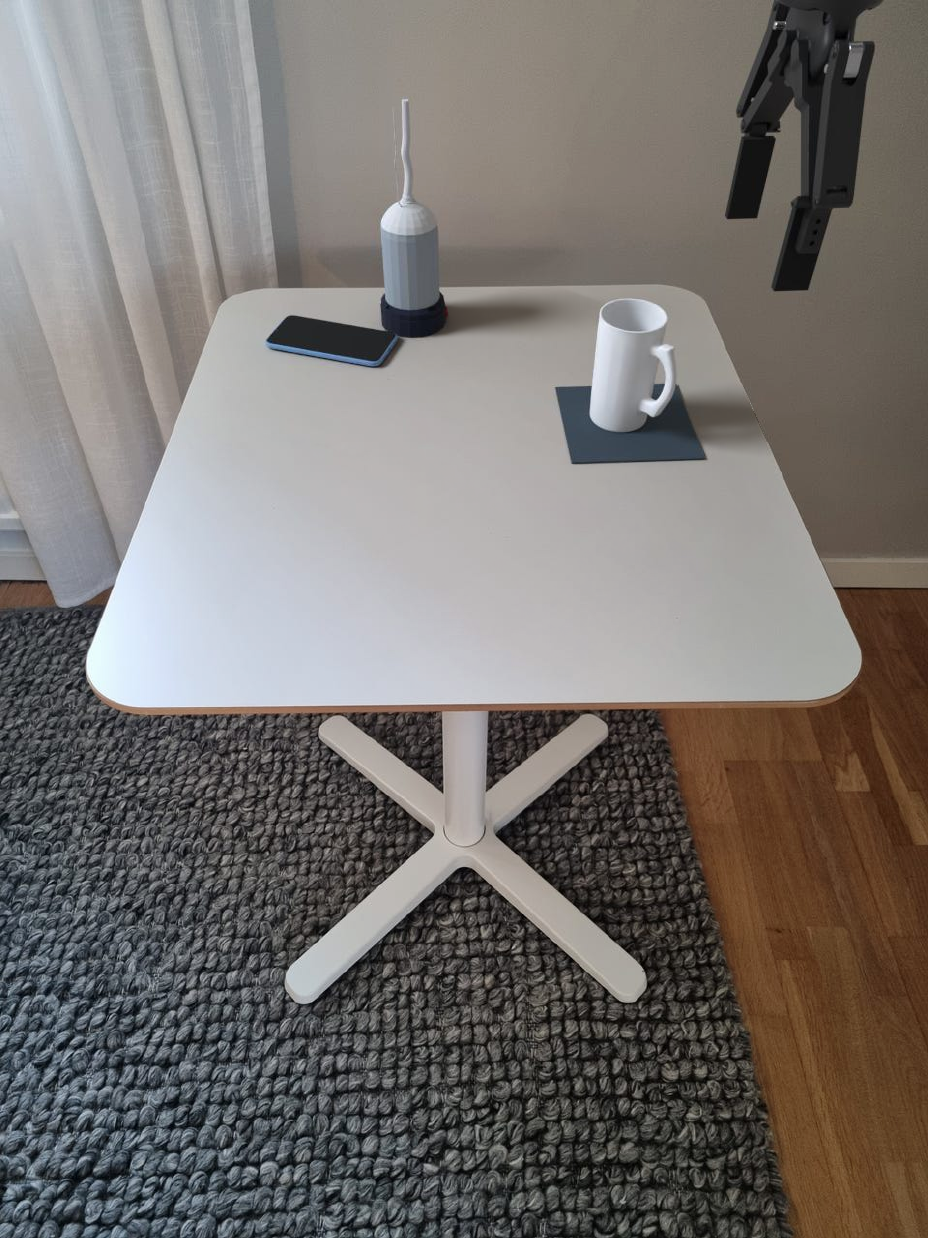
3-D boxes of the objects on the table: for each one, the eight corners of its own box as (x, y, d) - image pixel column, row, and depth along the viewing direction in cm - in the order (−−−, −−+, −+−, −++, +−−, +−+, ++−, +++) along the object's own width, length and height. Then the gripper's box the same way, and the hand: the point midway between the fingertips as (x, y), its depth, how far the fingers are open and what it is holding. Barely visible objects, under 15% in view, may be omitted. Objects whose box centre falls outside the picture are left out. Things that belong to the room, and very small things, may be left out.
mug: (574, 412, 96) (585, 311, 87) (618, 391, 99) (633, 291, 90) (638, 457, 91) (658, 354, 82) (683, 434, 93) (706, 332, 84)
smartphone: (378, 362, 102) (261, 342, 105) (378, 369, 102) (262, 348, 105) (400, 330, 106) (287, 312, 109) (400, 337, 107) (288, 318, 110)
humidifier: (459, 318, 110) (458, 98, 92) (416, 344, 106) (406, 119, 87) (411, 298, 114) (401, 82, 95) (367, 323, 109) (348, 102, 91)
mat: (704, 459, 91) (705, 458, 91) (571, 463, 90) (571, 462, 90) (675, 384, 100) (676, 383, 100) (555, 388, 100) (555, 386, 100)
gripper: (735, -100, 66) (684, 193, 81) (858, -28, 49) (763, 326, 64) (832, -102, 66) (763, 190, 81) (989, -30, 49) (863, 322, 64)
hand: (763, 251), depth 73 cm, fingers open, 13 cm apart
